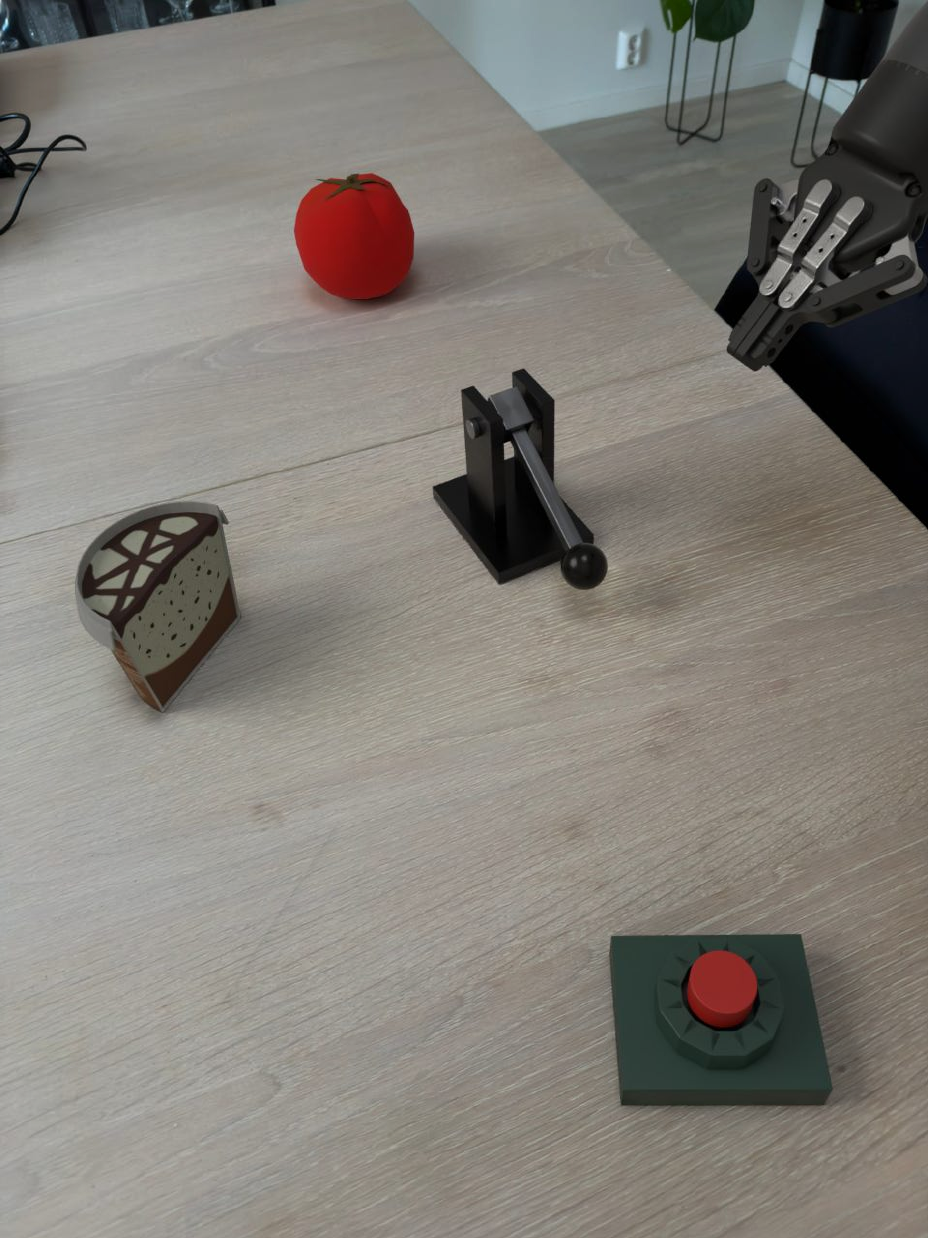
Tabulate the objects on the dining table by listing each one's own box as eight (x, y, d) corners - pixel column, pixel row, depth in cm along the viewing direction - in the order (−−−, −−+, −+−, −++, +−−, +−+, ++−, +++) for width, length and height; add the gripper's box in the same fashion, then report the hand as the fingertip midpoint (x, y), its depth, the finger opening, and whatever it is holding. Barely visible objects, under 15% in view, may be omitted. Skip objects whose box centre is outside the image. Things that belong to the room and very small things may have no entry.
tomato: (392, 326, 103) (379, 214, 94) (283, 309, 106) (261, 198, 98) (438, 262, 110) (430, 153, 102) (335, 248, 113) (319, 140, 105)
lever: (607, 586, 76) (622, 571, 73) (567, 602, 75) (580, 588, 72) (514, 402, 79) (524, 380, 76) (475, 416, 78) (483, 394, 75)
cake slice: (183, 580, 81) (147, 476, 74) (252, 604, 79) (222, 500, 72) (76, 700, 74) (24, 598, 67) (149, 729, 72) (103, 628, 65)
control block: (794, 952, 59) (807, 917, 56) (824, 1105, 54) (840, 1076, 51) (609, 954, 60) (612, 919, 57) (620, 1105, 54) (625, 1076, 51)
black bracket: (593, 546, 81) (599, 418, 73) (499, 585, 79) (493, 457, 71) (522, 464, 88) (519, 338, 79) (433, 497, 86) (420, 371, 77)
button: (747, 965, 55) (751, 949, 54) (757, 1028, 53) (762, 1013, 52) (683, 966, 55) (686, 950, 54) (691, 1028, 53) (694, 1013, 52)
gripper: (825, 23, 62) (640, 290, 67) (1013, 100, 54) (785, 396, 59) (879, 92, 67) (703, 334, 73) (1057, 171, 59) (844, 436, 65)
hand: (741, 361), depth 66 cm, fingers closed
